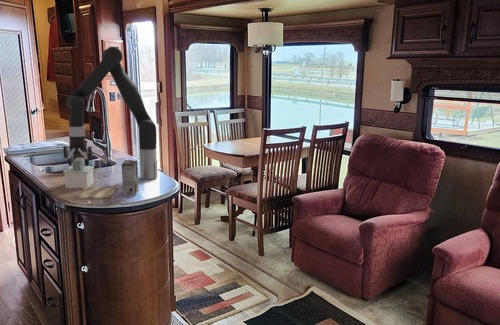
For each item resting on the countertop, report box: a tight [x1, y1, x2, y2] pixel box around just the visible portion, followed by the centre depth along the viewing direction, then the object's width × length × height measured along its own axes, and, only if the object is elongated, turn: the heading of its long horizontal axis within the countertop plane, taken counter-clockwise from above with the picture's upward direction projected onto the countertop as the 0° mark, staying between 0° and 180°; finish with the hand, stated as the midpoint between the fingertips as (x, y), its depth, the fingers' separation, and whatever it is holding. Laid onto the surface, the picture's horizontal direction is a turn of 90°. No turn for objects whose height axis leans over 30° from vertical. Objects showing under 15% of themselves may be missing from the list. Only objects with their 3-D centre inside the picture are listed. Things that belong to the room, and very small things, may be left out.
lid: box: [62, 158, 95, 174], centre depth 220 cm, size 12×12×8 cm
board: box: [74, 186, 118, 200], centre depth 208 cm, size 16×16×1 cm
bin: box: [64, 169, 95, 189], centre depth 221 cm, size 11×11×8 cm
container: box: [72, 139, 88, 160], centre depth 250 cm, size 9×9×18 cm
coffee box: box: [121, 159, 139, 197], centre depth 210 cm, size 9×6×16 cm
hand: (78, 165), depth 220 cm, fingers open, 7 cm apart
